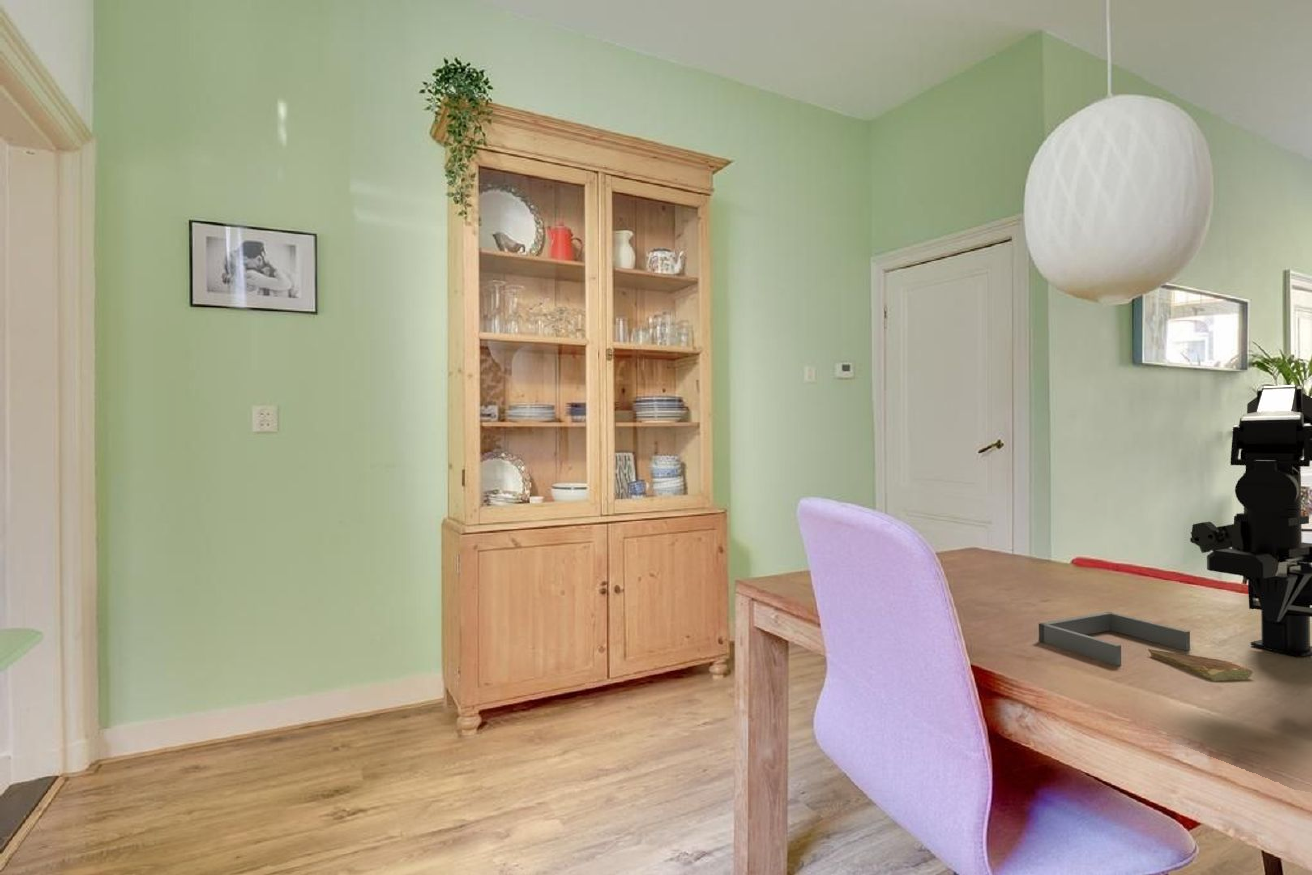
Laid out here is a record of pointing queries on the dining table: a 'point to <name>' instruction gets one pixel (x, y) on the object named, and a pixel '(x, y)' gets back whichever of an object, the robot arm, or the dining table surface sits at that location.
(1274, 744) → the dining table surface
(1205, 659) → the shard
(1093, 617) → the box
